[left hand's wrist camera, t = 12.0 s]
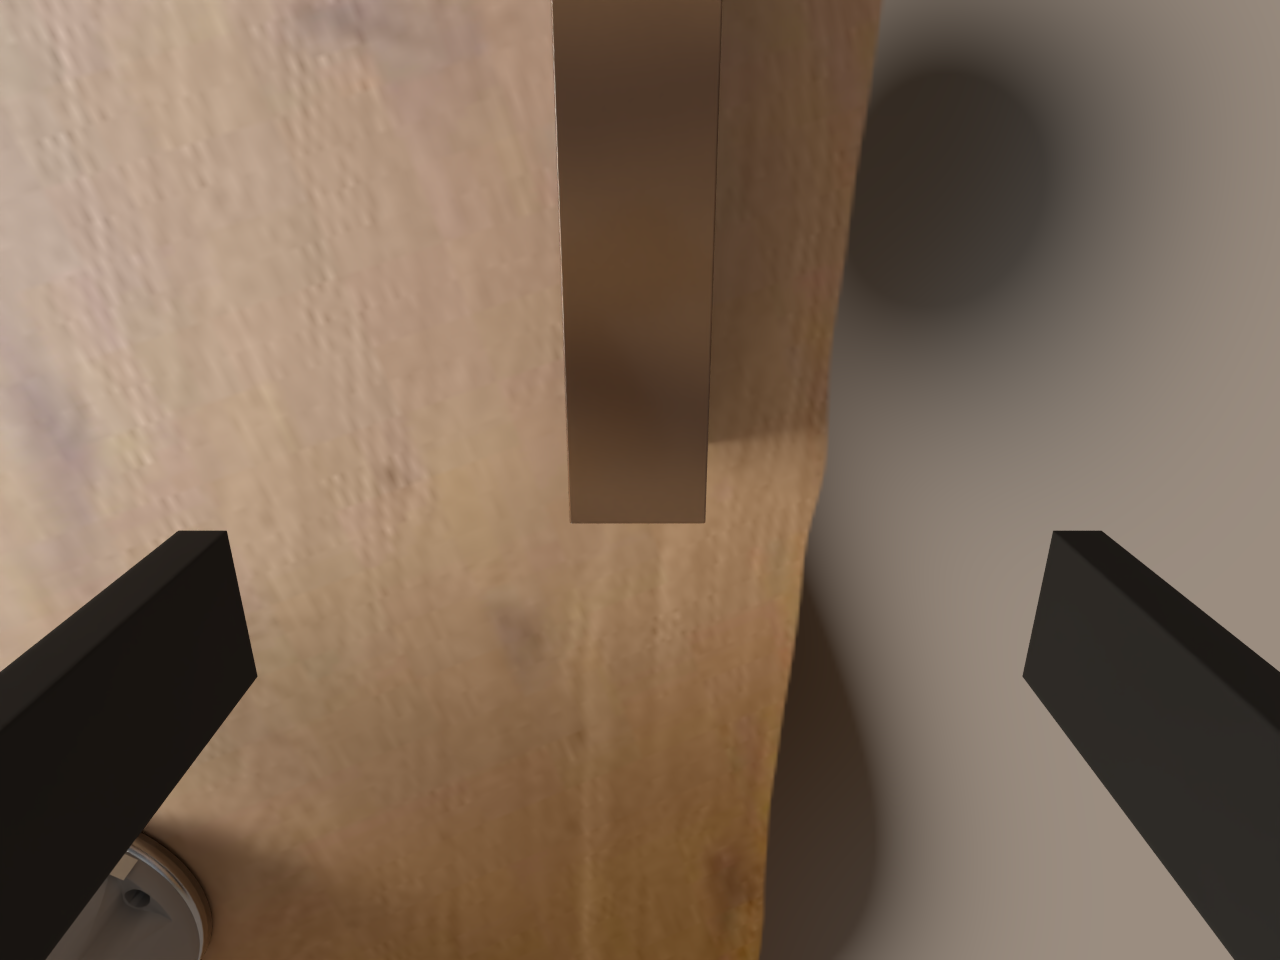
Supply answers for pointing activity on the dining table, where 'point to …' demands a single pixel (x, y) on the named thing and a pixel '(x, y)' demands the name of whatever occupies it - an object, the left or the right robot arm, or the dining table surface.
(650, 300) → the bar
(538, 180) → the dining table surface
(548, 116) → the dining table surface
